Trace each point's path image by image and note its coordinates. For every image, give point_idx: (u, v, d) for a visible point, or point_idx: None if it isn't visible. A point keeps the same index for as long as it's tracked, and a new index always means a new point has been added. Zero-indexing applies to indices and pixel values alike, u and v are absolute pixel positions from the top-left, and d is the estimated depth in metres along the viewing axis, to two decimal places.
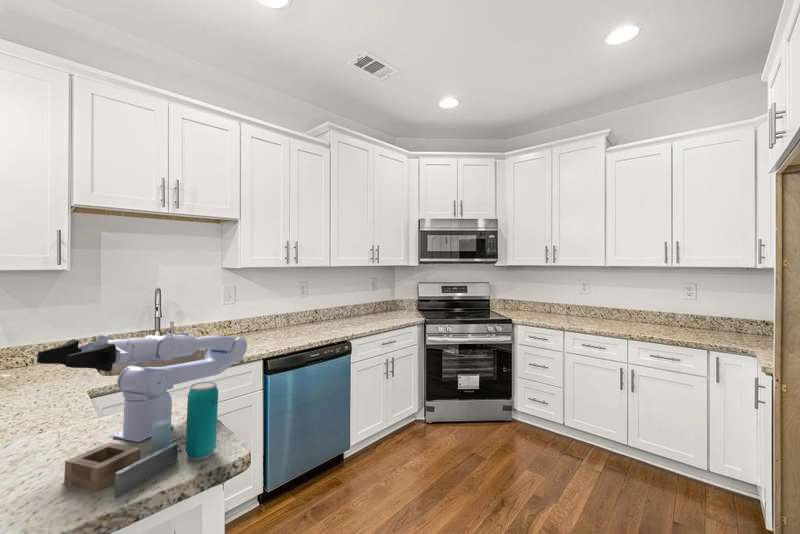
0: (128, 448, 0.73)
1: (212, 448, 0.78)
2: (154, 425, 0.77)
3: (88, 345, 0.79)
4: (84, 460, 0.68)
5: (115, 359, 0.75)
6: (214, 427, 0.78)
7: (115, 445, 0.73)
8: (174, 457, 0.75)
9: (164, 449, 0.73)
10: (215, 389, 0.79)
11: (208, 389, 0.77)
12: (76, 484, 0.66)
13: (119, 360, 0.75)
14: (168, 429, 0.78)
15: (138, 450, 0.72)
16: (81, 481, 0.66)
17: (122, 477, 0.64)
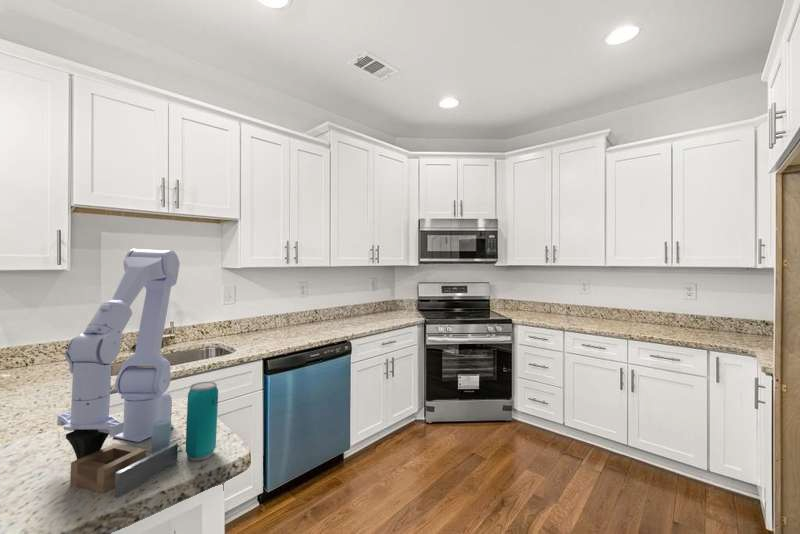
0: (134, 449, 0.72)
1: (212, 448, 0.78)
2: (154, 425, 0.77)
3: None
4: (90, 461, 0.67)
5: None
6: (214, 427, 0.78)
7: (121, 447, 0.73)
8: (174, 457, 0.75)
9: (164, 449, 0.73)
10: (215, 389, 0.79)
11: (208, 389, 0.77)
12: (82, 485, 0.66)
13: (120, 432, 0.70)
14: (168, 429, 0.78)
15: (144, 451, 0.72)
16: (87, 483, 0.66)
17: (122, 477, 0.64)
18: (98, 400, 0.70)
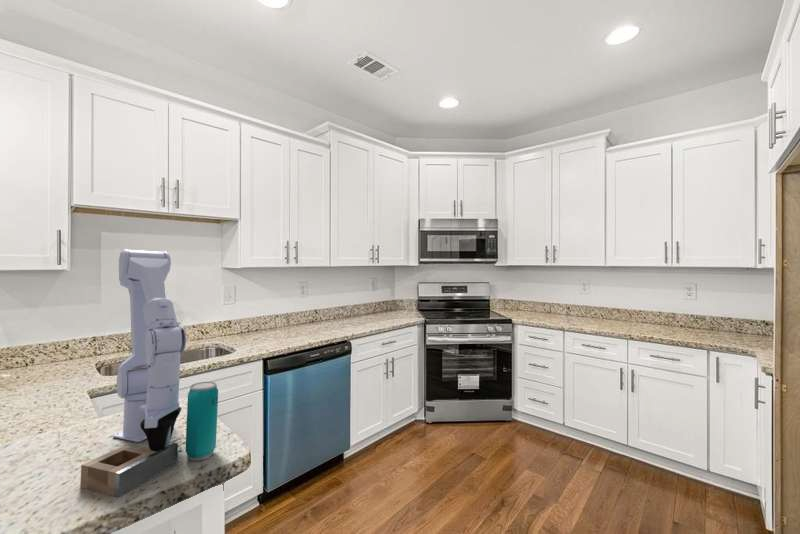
0: (144, 451, 0.71)
1: (212, 448, 0.78)
2: None
3: None
4: (100, 464, 0.67)
5: None
6: (214, 427, 0.78)
7: (131, 449, 0.72)
8: (174, 457, 0.75)
9: (164, 449, 0.73)
10: (215, 389, 0.79)
11: (208, 389, 0.77)
12: (92, 488, 0.65)
13: (153, 427, 0.71)
14: None
15: None
16: (98, 485, 0.65)
17: (122, 477, 0.64)
18: (155, 390, 0.75)
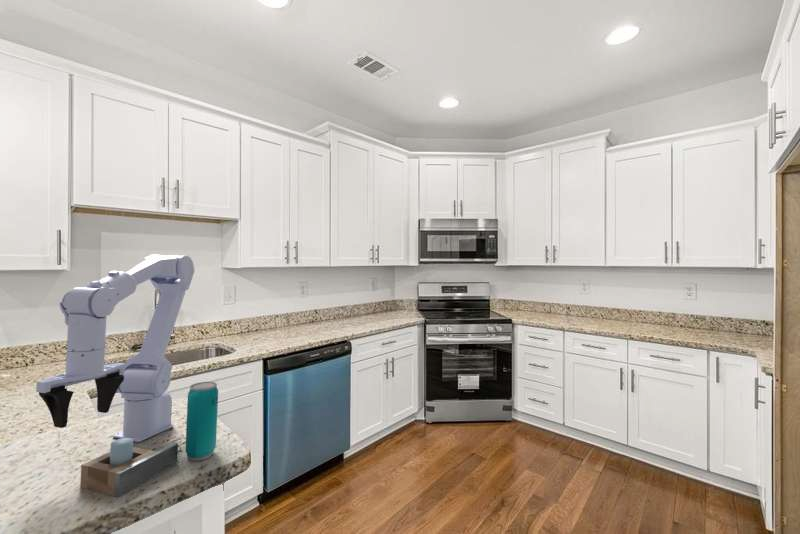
0: (144, 451, 0.71)
1: (212, 448, 0.78)
2: (112, 443, 0.68)
3: None
4: (100, 464, 0.67)
5: (47, 391, 0.66)
6: (214, 427, 0.78)
7: None
8: (174, 457, 0.75)
9: (164, 449, 0.73)
10: (215, 389, 0.79)
11: (208, 389, 0.77)
12: (92, 488, 0.65)
13: None
14: (126, 450, 0.68)
15: None
16: (98, 485, 0.65)
17: (122, 477, 0.64)
18: (67, 353, 0.69)
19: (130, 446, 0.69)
